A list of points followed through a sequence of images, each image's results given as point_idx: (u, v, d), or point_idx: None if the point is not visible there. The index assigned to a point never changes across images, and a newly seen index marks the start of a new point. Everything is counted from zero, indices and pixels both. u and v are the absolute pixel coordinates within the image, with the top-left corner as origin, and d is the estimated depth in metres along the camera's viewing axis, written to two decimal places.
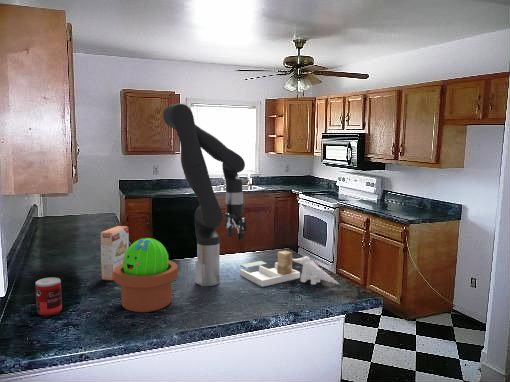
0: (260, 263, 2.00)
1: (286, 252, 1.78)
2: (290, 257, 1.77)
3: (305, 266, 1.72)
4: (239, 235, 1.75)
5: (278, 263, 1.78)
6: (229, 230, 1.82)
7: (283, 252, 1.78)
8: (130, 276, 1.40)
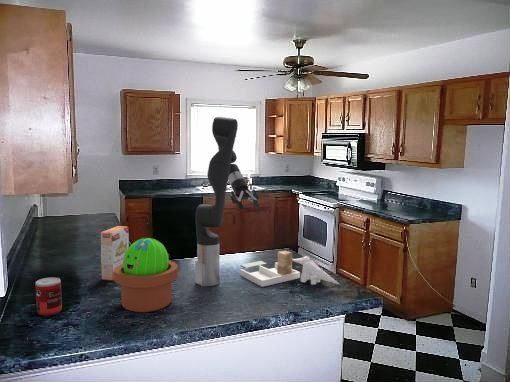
0: (260, 263, 2.00)
1: (286, 252, 1.78)
2: (290, 257, 1.77)
3: (305, 266, 1.72)
4: None
5: (278, 263, 1.78)
6: None
7: (283, 252, 1.78)
8: (130, 276, 1.40)
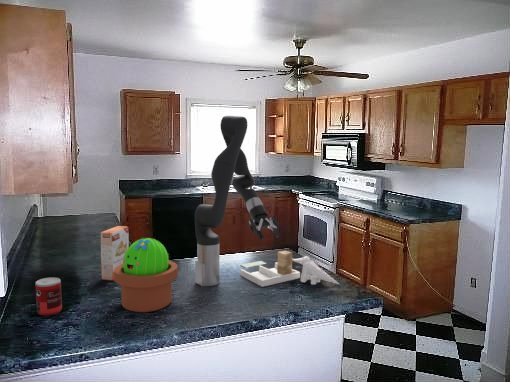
0: (260, 263, 2.00)
1: (286, 252, 1.78)
2: (290, 257, 1.77)
3: (305, 266, 1.72)
4: (276, 231, 1.90)
5: (278, 263, 1.78)
6: None
7: (283, 252, 1.78)
8: (130, 276, 1.40)
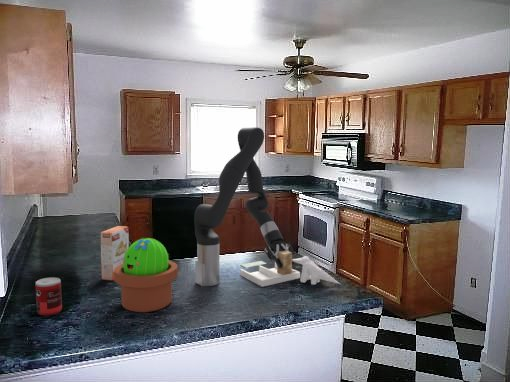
0: (260, 263, 2.00)
1: (286, 252, 1.78)
2: (289, 257, 1.77)
3: (305, 266, 1.71)
4: None
5: None
6: None
7: (283, 252, 1.77)
8: (130, 276, 1.40)
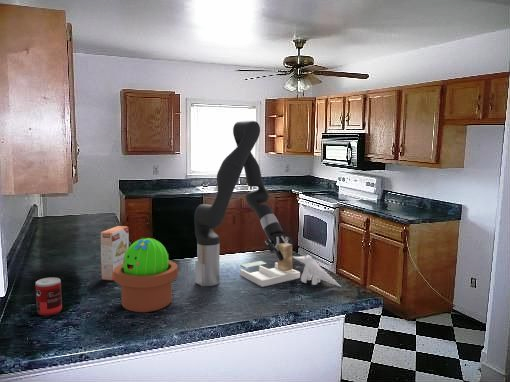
0: (260, 263, 2.00)
1: (286, 244, 1.77)
2: (289, 249, 1.76)
3: (308, 266, 1.70)
4: None
5: None
6: None
7: (283, 244, 1.77)
8: (130, 276, 1.40)
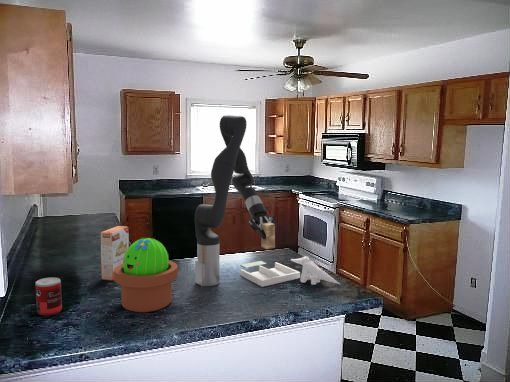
0: (260, 263, 2.00)
1: (269, 223, 1.87)
2: (272, 228, 1.86)
3: (305, 266, 1.71)
4: None
5: None
6: None
7: (266, 224, 1.87)
8: (130, 276, 1.40)
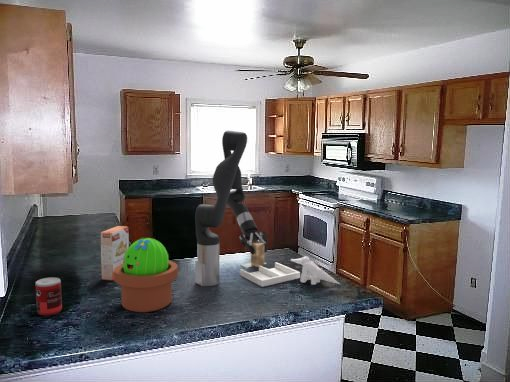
0: None
1: (259, 243, 1.94)
2: (262, 248, 1.93)
3: (305, 266, 1.71)
4: None
5: None
6: None
7: (256, 243, 1.94)
8: (130, 276, 1.40)
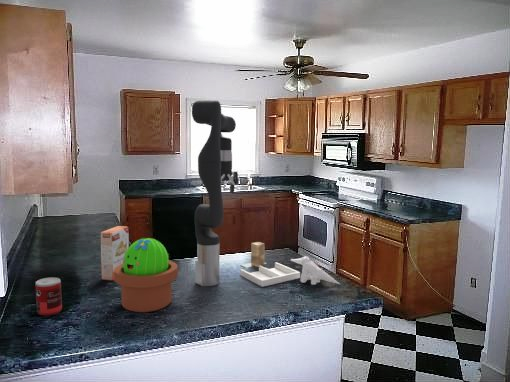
0: None
1: (259, 243, 1.94)
2: (262, 248, 1.94)
3: (305, 266, 1.71)
4: (233, 187, 2.00)
5: (252, 253, 1.95)
6: None
7: (256, 243, 1.94)
8: (130, 276, 1.40)
